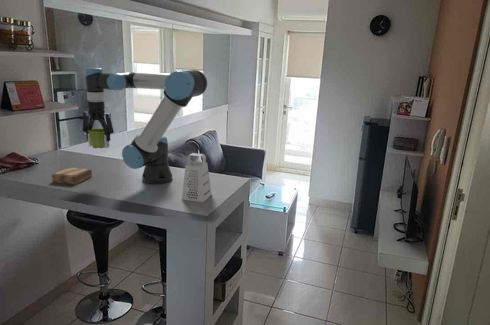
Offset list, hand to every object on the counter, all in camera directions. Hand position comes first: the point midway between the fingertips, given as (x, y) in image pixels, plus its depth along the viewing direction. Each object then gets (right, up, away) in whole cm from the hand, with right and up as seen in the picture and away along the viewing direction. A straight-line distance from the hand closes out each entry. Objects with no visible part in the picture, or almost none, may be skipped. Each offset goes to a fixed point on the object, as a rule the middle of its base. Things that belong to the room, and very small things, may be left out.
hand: (99, 146), depth 185 cm
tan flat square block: (-16, -17, +5) cm, 23 cm away
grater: (+51, -24, -14) cm, 58 cm away
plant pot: (0, -1, 0) cm, 1 cm away
